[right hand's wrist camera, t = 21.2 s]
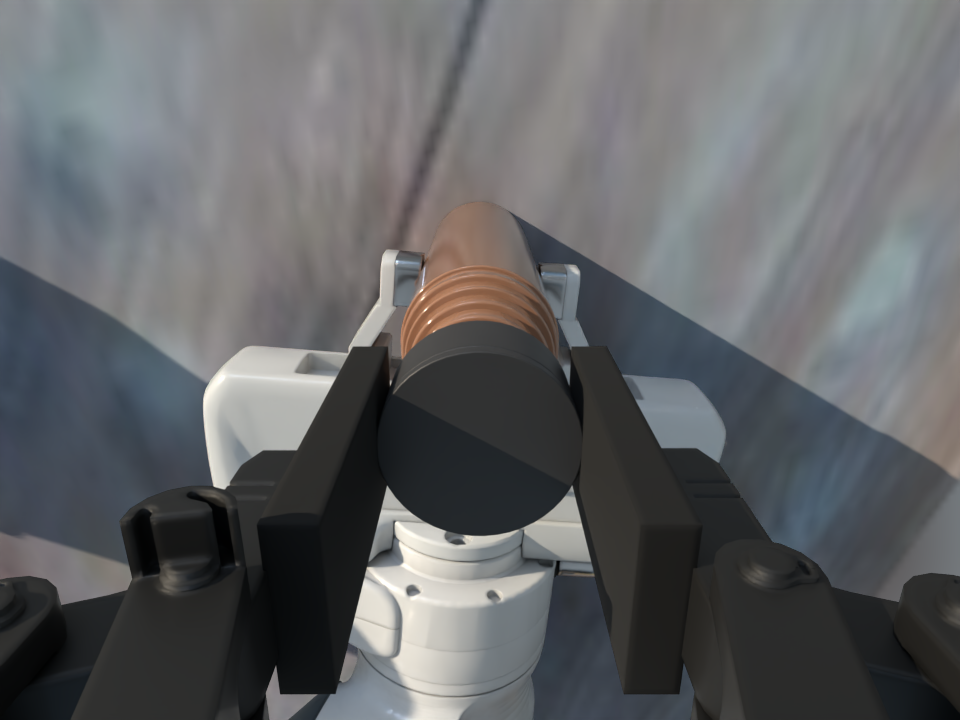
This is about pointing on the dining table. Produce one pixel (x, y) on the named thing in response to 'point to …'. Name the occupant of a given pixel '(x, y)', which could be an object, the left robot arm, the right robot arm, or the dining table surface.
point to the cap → (479, 430)
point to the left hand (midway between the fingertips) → (480, 259)
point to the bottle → (479, 278)
